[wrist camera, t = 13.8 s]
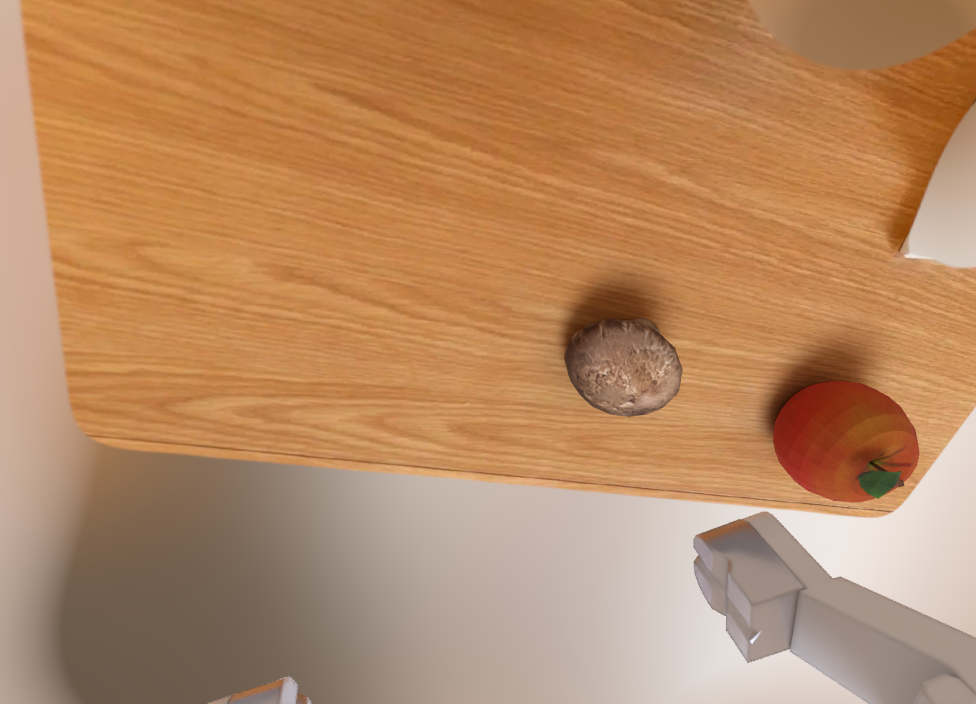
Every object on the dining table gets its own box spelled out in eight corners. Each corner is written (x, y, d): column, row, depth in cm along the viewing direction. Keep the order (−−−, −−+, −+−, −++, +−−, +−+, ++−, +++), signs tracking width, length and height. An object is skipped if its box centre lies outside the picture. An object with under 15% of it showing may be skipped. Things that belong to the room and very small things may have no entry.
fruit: (813, 462, 49) (909, 545, 40) (733, 447, 46) (818, 533, 37) (875, 375, 45) (995, 446, 36) (793, 352, 42) (903, 424, 33)
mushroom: (704, 304, 34) (696, 376, 31) (670, 377, 40) (660, 444, 37) (584, 277, 36) (562, 342, 32) (569, 351, 42) (550, 413, 38)
